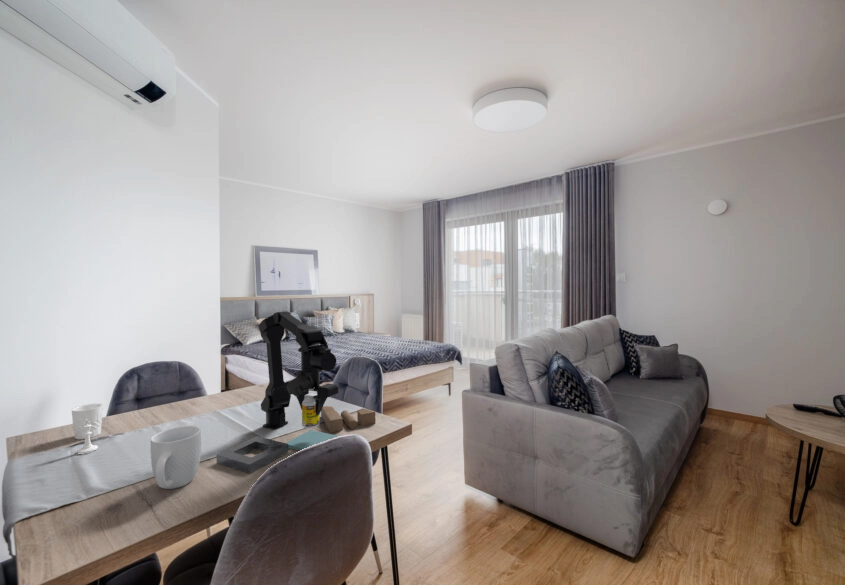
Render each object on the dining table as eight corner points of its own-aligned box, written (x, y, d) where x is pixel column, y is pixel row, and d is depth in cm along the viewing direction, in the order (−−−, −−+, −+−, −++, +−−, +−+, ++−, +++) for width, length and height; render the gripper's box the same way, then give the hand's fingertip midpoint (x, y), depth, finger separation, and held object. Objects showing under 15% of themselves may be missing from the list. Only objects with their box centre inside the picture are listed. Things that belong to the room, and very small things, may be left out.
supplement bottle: (304, 430, 114) (304, 398, 113) (300, 424, 118) (299, 394, 118) (322, 426, 117) (321, 395, 117) (316, 421, 121) (316, 391, 121)
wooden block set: (330, 418, 125) (320, 403, 141) (330, 434, 125) (320, 418, 141) (376, 410, 133) (361, 397, 149) (376, 425, 133) (361, 410, 149)
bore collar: (216, 462, 105) (216, 454, 105) (257, 443, 117) (256, 436, 117) (249, 473, 99) (249, 464, 99) (288, 451, 111) (288, 443, 111)
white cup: (67, 438, 123) (66, 409, 122) (95, 429, 130) (94, 402, 130) (80, 441, 120) (79, 412, 120) (108, 432, 127) (107, 405, 127)
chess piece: (101, 449, 114) (100, 418, 114) (81, 455, 110) (80, 423, 110) (93, 446, 116) (92, 415, 116) (73, 452, 112) (72, 421, 112)
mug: (185, 500, 86) (184, 447, 86) (133, 507, 84) (132, 452, 84) (208, 469, 101) (207, 423, 101) (163, 474, 99) (162, 427, 98)
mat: (284, 446, 115) (284, 443, 115) (310, 432, 126) (310, 429, 126) (312, 454, 110) (312, 450, 110) (337, 438, 120) (337, 435, 120)
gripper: (270, 368, 114) (270, 417, 114) (315, 375, 106) (315, 427, 106) (296, 361, 124) (296, 406, 124) (339, 367, 116) (339, 414, 116)
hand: (311, 413), depth 118 cm, fingers closed on supplement bottle, 5 cm apart
